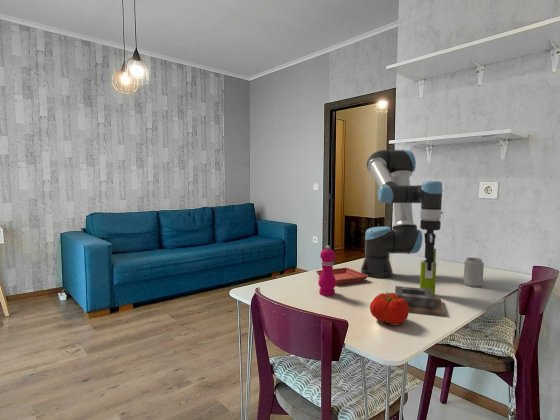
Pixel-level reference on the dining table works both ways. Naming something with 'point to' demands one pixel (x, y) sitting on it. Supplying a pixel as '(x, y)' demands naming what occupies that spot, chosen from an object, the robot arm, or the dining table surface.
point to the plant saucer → (346, 275)
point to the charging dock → (429, 311)
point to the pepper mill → (327, 272)
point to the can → (473, 272)
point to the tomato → (389, 308)
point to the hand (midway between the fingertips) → (428, 276)
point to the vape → (427, 282)
